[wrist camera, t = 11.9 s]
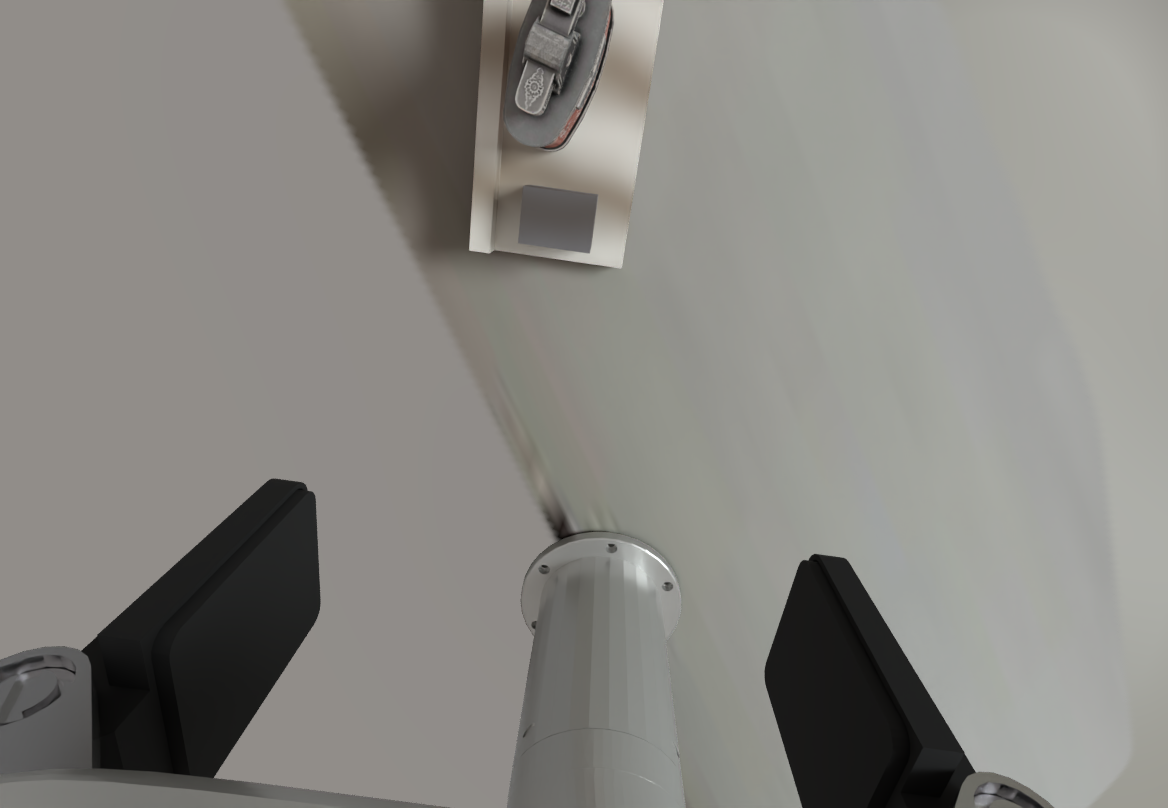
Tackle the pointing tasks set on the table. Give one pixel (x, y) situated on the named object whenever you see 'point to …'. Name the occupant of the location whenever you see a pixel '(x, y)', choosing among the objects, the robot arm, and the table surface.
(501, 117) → the white base plate
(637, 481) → the table surface
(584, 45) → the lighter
